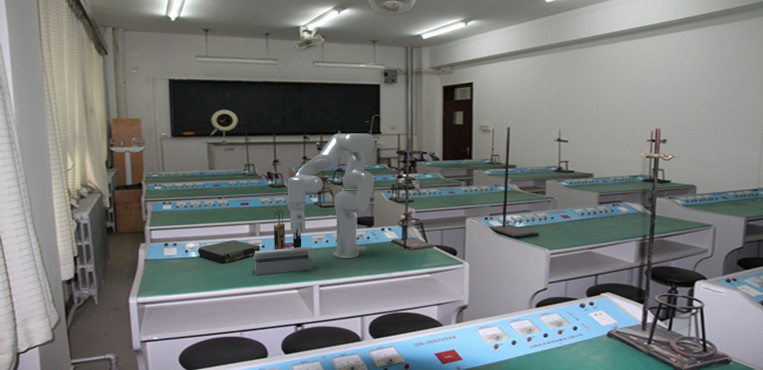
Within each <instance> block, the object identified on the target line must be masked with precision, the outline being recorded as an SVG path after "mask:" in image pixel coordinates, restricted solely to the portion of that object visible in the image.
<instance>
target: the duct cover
mask: <svg viewBox="0 0 763 370" xmlns="http://www.w3.org/2000/svg"><path fill="white" fill-rule="evenodd" d="M311 250H312V246H304V247H302V246H301V247H300V248H294V247H292V248H291V247H288V248H284V249H277V250H275V249H268V250H260V251H255V254H254V255H253V260H254V259H264V258H275V257H286V256H297V255H308V254H309V253H310V252H311Z"/></svg>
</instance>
